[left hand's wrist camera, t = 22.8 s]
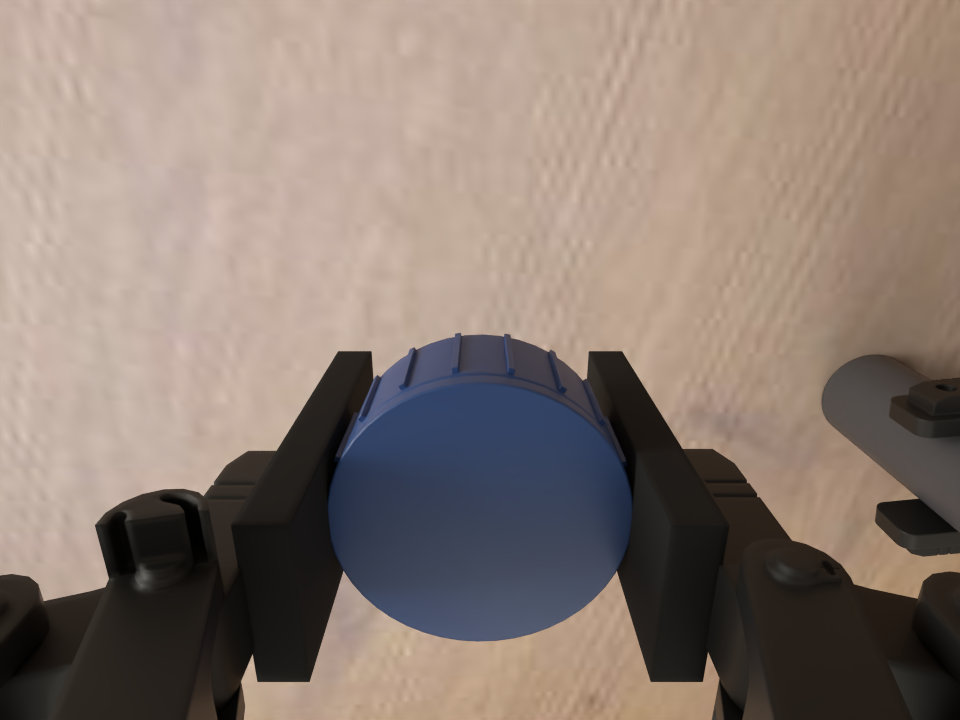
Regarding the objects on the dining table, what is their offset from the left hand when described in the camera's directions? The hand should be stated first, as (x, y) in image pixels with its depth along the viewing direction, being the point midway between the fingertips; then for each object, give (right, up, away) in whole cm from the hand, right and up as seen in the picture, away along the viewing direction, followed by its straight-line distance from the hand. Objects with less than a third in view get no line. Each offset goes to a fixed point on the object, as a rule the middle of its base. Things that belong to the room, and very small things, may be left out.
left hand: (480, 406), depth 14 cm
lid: (0, -1, -4) cm, 4 cm away
